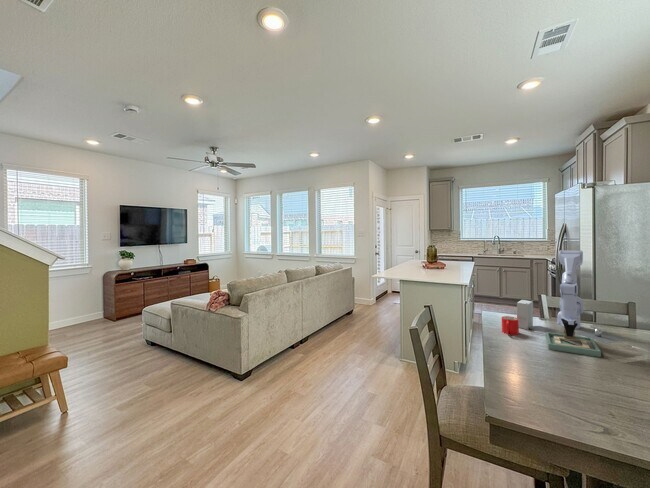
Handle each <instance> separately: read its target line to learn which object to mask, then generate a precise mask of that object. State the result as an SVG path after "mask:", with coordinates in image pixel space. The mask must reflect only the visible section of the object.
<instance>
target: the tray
mask: <svg viewBox="0 0 650 488" xmlns="http://www.w3.org/2000/svg"><path fill="white" fill-rule="evenodd" d="M554 336H560V337H564V333H557V332H549V331H548V332H547V331H545V340H546V343H547V348H548V350H552V351H553V350H554V351H559V352H564V353H565V352H566V353H571V354H577V355H578V354H579V355H584V356H590V357H591V356H592V357H598V358H601V357H602V351H601V349H600V347H599V346H598V345H597V343H596V340H595V339H593V338H588V337H585V336H582V335H580V336H579V335H575V339H582V340H586V341H589V342H590V343H591V345H592V346H593V348H594V349H591V348H590V349H586V348H579V347H572V346H565V345H558V344H555V341H554ZM563 340H564V339H562V340H560V342H561V343H564V344H571V345H578V344H576V343H573V342H570V341H569V340H565V341H563ZM578 346H580V345H578Z"/></svg>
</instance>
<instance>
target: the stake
mask: <svg viewBox="0 0 650 488" xmlns="http://www.w3.org/2000/svg"><path fill="white" fill-rule="evenodd" d="M589 326H590V327H589V328H591V329H593V330H595V336H596V337H602V331H603V332H607V328H603V327H600V326H596V325H589Z"/></svg>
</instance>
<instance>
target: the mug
mask: <svg viewBox="0 0 650 488" xmlns="http://www.w3.org/2000/svg"><path fill="white" fill-rule="evenodd" d="M501 332H502V333H503V332H504V333H503V334H505V333H506V335H509V334H510V335H511V336H518V335H519V333H520V328H519V319H518V318H517V316H510V315H508V316H507V315H504V316H501Z"/></svg>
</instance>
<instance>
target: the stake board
mask: <svg viewBox="0 0 650 488" xmlns="http://www.w3.org/2000/svg"><path fill="white" fill-rule="evenodd" d="M575 335H578V336H579V335H580V336H581V337H588V338H593V340H594V341H598V342H601V343H604V344H608V343H616V342H623V341H624V342H625V341H630V340H631V339H630V338H626V337H623V336H620V335H616V334H614V333H613V334H612V333H609V332H607V331H602V337H596V336H595V329H589V330H581V331H575Z"/></svg>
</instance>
